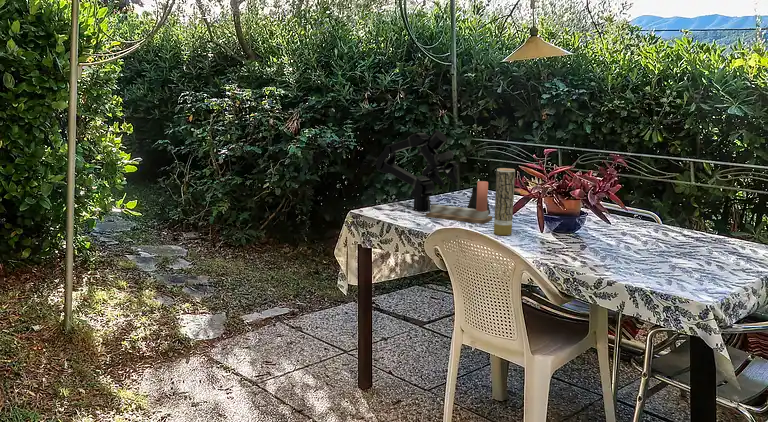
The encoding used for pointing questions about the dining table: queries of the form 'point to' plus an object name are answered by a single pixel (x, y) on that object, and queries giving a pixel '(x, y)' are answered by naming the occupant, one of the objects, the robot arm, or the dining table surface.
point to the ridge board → (458, 218)
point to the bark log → (504, 201)
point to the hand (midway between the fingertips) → (450, 184)
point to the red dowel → (482, 196)
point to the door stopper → (475, 200)
